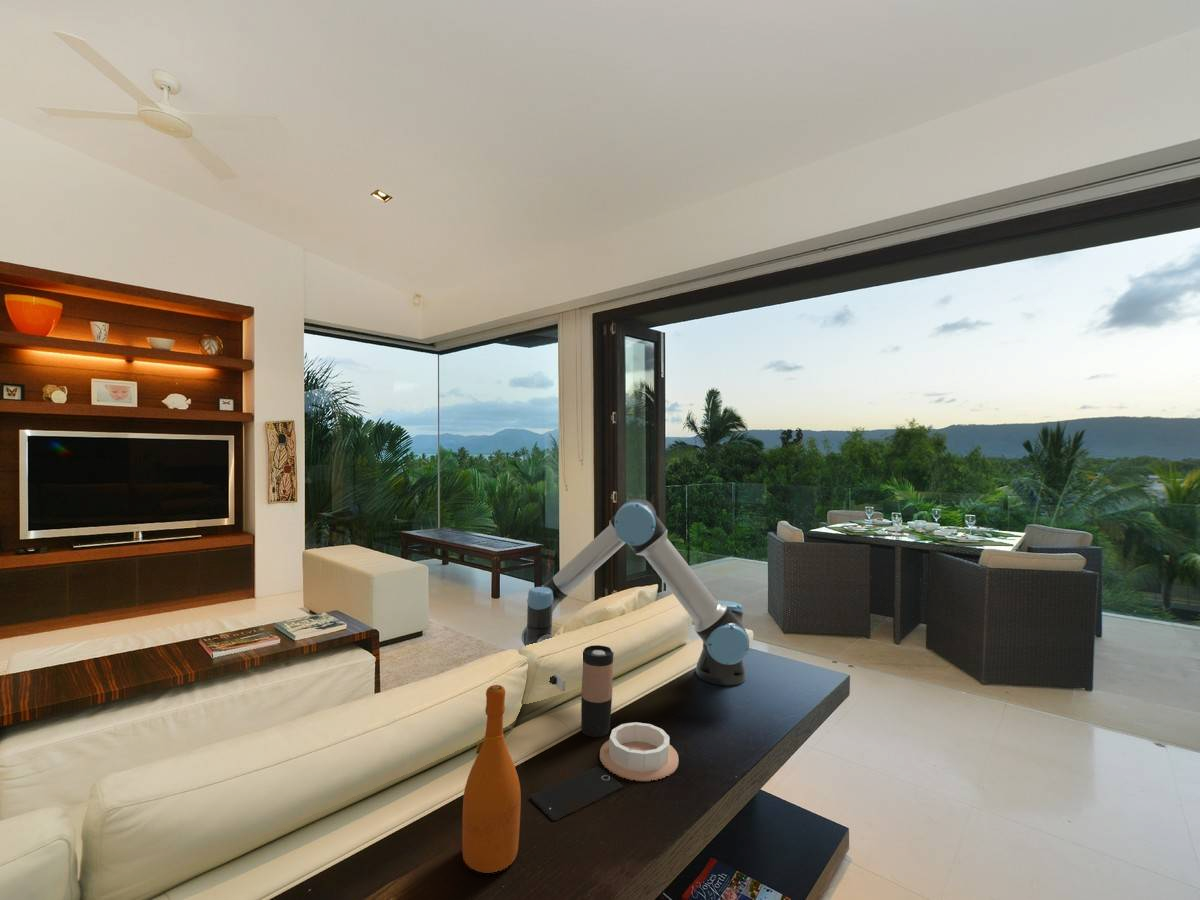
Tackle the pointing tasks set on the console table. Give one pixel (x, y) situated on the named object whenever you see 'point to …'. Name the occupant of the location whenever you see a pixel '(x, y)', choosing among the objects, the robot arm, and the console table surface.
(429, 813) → the console table surface
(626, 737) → the white and pink ring
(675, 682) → the console table surface
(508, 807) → the wine bottle
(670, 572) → the robot arm
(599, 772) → the cell phone
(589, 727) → the travel mug
